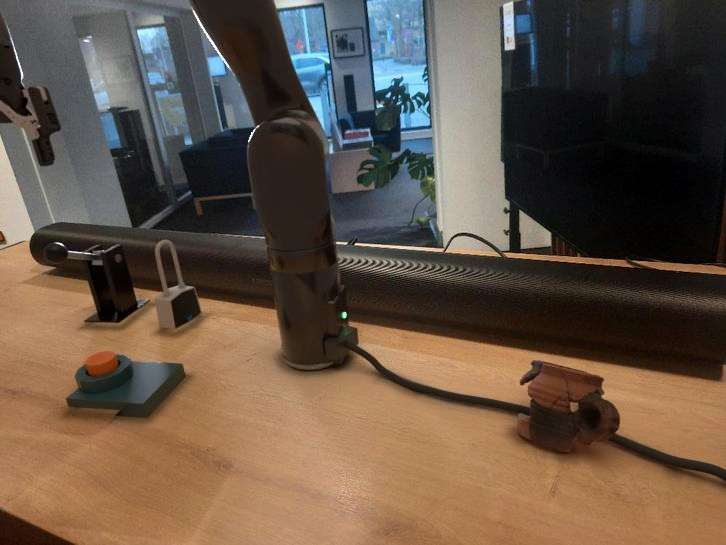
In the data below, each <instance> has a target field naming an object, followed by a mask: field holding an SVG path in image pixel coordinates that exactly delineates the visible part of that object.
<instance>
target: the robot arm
mask: <svg viewBox="0 0 726 545" xmlns="http://www.w3.org/2000/svg"><path fill="white" fill-rule="evenodd" d="M187 2H188V4H189V6H190V8H191V9H192V12H193V14H194V16H195V18H196V19H197V21H198V23H199V25H200V27H201V28H202V29H203V31H204V33H205V34H206V36H207V38H208V39H209V41H210V42H211V44H212V45H213V47H214V48H215V50H216V51H217V53H218V54H219V56H220V57H221V59H222V60H223V61H224V63H225V64H226V66H227V67H228V69H229V70H230V71H231V73H232V75H233V76H234V78H235V80H236V81H237V84H238V85H239V88H240V90H241V92H242V95H243V97H244V99H245V102H246V105H247V107H248V110H249V113H250V116H251V118H252V122H253V126H254V130H253V132H251V135H250V137H249V140H248V143H247V150H246V157H247V160H246V161H247V169H248V176H249V181H250V187H251V194H252V197H253V202H254V207H255V208H254V209H255V213H256V217H257V221H258V224H259V227H260V229H261V230H262V233H263V235H264V238H265V239H264V240H265V246H266V252H267V258H268V266H269V273H270V279H271V285H272V292H273V298H274V305H275V311H276V312H275V313H276V317H277V324H278V332H279V336H280V343H281V344H280V345H281V355H282V360H283V362H284V364H286V365H287V366H289V367H290V368H292V369H296V370H300V371H316V370H322V369H326V368H329V367H332V366H342V365H343V362H344V360H345V358H346V356H347V354H348V352H350V351H351V352H353V353H355V354H356V355H359V356H360V357H362V358H363V359H365V360H366V361H367V362H368V363H370V365H372V366H373V368H374V369H375V370H376V371H377V372H379V373H380V374H381V375H382V376H383V377H385V378H387V379H389V380H390V381H392V382H394V383H396V384H398V385H401V386H403V387H405V388H407V389H411V390H414V391H417V392H420V393H424V394H426V395H431V396H434V397H437V398H441V399H445V400H448V401H453V402H459V403H465V404H470V405H477V406H482V407H488V408H494V409H499V410H502V411H508V412H510V413H511V412H512V413H515V414H520V413H522V414H524V415H527V416H530V406H526V405H521V404H517V403H513V402H508V401H504V400H499V399H494V398H489V397H484V396H476V395H469V394H464V393H458V392H453V391H449V390H445V389H440V388H437V387H434V386H430V385H426V384H422V383H419V382H416V381H412V380H409V379H407V378H405V377H402V376H401V375H398V374H396V373H394V372H393V371H391V370H390V369H388V368H386V367H385V366H384V365H383V364H382V363H381V362H380V361H378V359H377V358H376V357H375V356H374V355H372V354H371V353H369V352H368V351H367V350H366V349H364V348H362V347H360V346H359V342H360V341H359V332H358V327H355V326H351V325H350V323H349V312H348V301H347V291H346V286H345V285H344V284H341V274H340V266H339V256H338V246H337V234H336V224H335V223H336V222H335V219H334V216H333V213H332V209H331V203H330V195H329V194H330V193H329V184H328V176H327V165H328V161H329V157H330V142H329V139H328V136H327V133H326V131H325V129H324V127H323V125H322V123H321V121H320V119H319V117H318V116H317V113H316V111H315V109H314V107H313V105H312V103H311V101H310V99H309V96H308V95H307V92H306V90H305V88H304V86H303V83H302V82H301V79H300V76H299V75H298V73H297V70H296V67H295V65H294V62H293V59H292V57H291V53H290V49H289V46H288V43H287V39H286V35H285V32H284V28H283V25H282V21H281V19H280V15H279V12H278V9H277V5H276V3H275V0H187ZM15 48H16V47H15V45H14V42H13V39H12V36H11V32H10V29H9V26H8V23H7V21H6V17H5V16H4V14H3V12H2V9H1V8H0V124H13V123H14V125H16V126H17V127H19V128H21V129H23V130H24V131H25V132H26V133H27V134H28V135H29V136H31V138H32V139H31V144H32V147H33V151H34V153H35V156H36V160H37V163H38V165H39V166H40V167H42V168H43V167H49V166H53V165H54V164H55V161H56V155H55V153H54V149H53V145H52V142H51V135H53V134H55V133H57V132H60V131H61V130H62V125H61V122H60V120H59V117H58V115H57V111H56V109H55V105H54V102H53V100H52V96H51V94H50V91H49V89H48V87H46V86H40V85H39V86H37V85H36V86H29V87H28V88H26V87H25V85H24V84H23V82H22V79H23V78H24V74H23V71H22V67H21V65H20V62H19V58H18V55H17V52H16V49H15ZM29 103H30V104H31V105H32V107H33V110H34V111H33V110H32V108H30V107H29V106H28V104H29ZM607 441H609V442H610V443H613V444H616V445H618V446H621V447H622V448H625V449H627V450H631V451H632V452H635V453H637V454H640V455H642V456H644V457H647V458H649V459H652V460H655V461H658V462H660V463H662V464H665V465H668V466H671V467H674V468H679V469H683V470H687V471H694V472H699V473H704V474H707V475H710V476H714V477H717V478H719V479H720V480H722V481H724V482H726V468H723V467H721V466H719V465H716V464H713V463H709V462H706V461H700V460H695V459H690V458H684V457H679V456H675V455H673V454H669V453H666V452H663V451H660V450H657V449H655V448H653V447H650V446H647V445H644V444H642V443H639V442H638V441H634V440H632V439H630V438H628V437H626V436H622V435H620V434H617V433H615V434H614V435H613V436H612V437H611V438H610V439H608V440H607Z"/></svg>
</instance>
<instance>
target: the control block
mask: <svg viewBox="0 0 726 545" xmlns="http://www.w3.org/2000/svg"><path fill="white" fill-rule="evenodd" d="M115 354H116V357H117V361H118V364H119V366H118V368H117V369H115V370H114V371H112V372H110V373H107V374H105V375H100V376H90V375H89V374H88V371H87V367H86V364H85V363H84V364H83V365H82V366H79V368H78V369H77V370H76V372H75V374H74V380H75V382H76V384H77V388H76V389H75V390H74V391H73V392H71V393H70V394H69V395H68V396H67V397H65V400H66V404H67V407H70V408H71V407H72V408H85V409H99V410H111V411H118V412H116V413H115V415H114V416H116V417H128V418H141V419H147V418H149V417H150V416H151V414H152V413H153V412H154V411H155V410H156V409H157V408H158V407H159V406H160V405H161V404H162V403H163V402H164V401H165V400H166V398H167V397H168V396H169V395H170V394H171V393H172V392H173V391H174V390H175V389H176V388H177V387H178V386H179V384H180V383H181V382H182V381H184V379H185V378H186V377H187V376H186V372H185V367H184V363H183V362H182V363H181V362H180V363H179V362H161V361H144V360H143V361H141V360H132V359H131V357H129V356H128V355H126V354H119V353H118V354H117V353H115Z"/></svg>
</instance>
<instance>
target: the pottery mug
mask: <svg viewBox="0 0 726 545" xmlns="http://www.w3.org/2000/svg"><path fill="white" fill-rule="evenodd" d="M530 366H531V369H530V370H528V371H527V372H525V373H524V374H523V375H522V377H521V378H520V379H519V385H520V386H521V387H522V386H524V385H526V384H528V385H527V390H526V393H527V395H528V396H529V398H530V400H529V407H530V416H528V415H524V414H522V413H520V414H519V413H517V414H518V415H517V434H518V435H520V436H521V437H523V438H524V439H526V440H528V441H531V442H533V443H536V444H538V445H539V446H541V447H544V448H547V449H550V450H552V451H556V452H557V451H558V452H561V453H565V454H570V453H571V451H572V448H573V445H574V443H575V440H576V439H577V440H578V441H579V443H580V444H582V445H584V446H590V445H592V444H593V443H604V442H606V441H608V439H610V438H611V437H612V436H613V435H614V434H617V431H619V429H620V424H621V416H620V412H619V410H618V408H617V407H616V406H615V405H614V403H612V402H611V401H610V400H608V399H604V398H603V397H602V396H604V395H605V393H606V392H605V391H604V389H603V388H602V387H603V382H604V381H605V378H604V377H603V376H600V375H597V374H593V373H589V372H587V371H586V370H585V371H584V370H581V369H577V368H573V367H569V366H564V365H562V364H561V365H560V364H556V363H553V362H552V363H551V362H547V361H543V360H535V359H533V360H531V363H530ZM571 403H574V404H575V403H577V407H578V409H576V410H574V411H572V407H571Z"/></svg>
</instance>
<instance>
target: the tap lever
mask: <svg viewBox="0 0 726 545" xmlns="http://www.w3.org/2000/svg"><path fill="white" fill-rule="evenodd" d="M103 251H104V250H103ZM103 251H93V253H92V254H88V253H81V252H78V251H72V250H71V251H70V250H68V248H67V247H66V246H65V245H64V244H62V243H60V242H52V243H49V244H47V245H46V246H45V247H44V249H43V257H44V258H45V260H46V261H47V262H49V263H51V264H56V265H57V264H58V265H59V264H62V263H64V262H66V261H67V259H73V260H74V259H75V260H81V259H83V260H92V265H99V266H103V263H102V259H101V256H100V253H101V252H103Z"/></svg>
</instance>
